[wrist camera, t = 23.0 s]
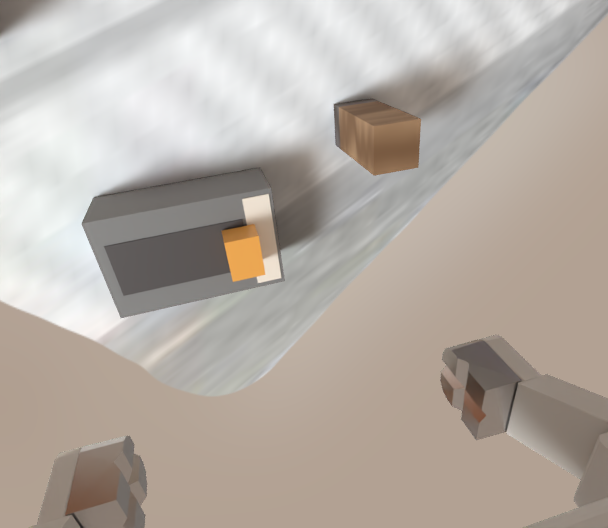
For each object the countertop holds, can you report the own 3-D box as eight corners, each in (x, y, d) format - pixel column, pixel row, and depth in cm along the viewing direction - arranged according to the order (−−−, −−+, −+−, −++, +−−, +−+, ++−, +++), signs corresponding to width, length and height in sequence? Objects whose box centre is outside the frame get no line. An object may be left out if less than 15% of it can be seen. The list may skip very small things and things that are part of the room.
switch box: (93, 197, 40) (81, 224, 35) (259, 167, 43) (271, 188, 37) (127, 284, 45) (120, 318, 40) (273, 253, 48) (284, 281, 43)
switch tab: (221, 230, 38) (223, 243, 36) (254, 224, 39) (258, 235, 36) (229, 268, 40) (232, 281, 38) (260, 261, 41) (265, 274, 39)
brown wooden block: (333, 104, 41) (373, 126, 33) (372, 98, 42) (420, 118, 34) (335, 145, 43) (373, 175, 35) (372, 138, 44) (418, 167, 36)
